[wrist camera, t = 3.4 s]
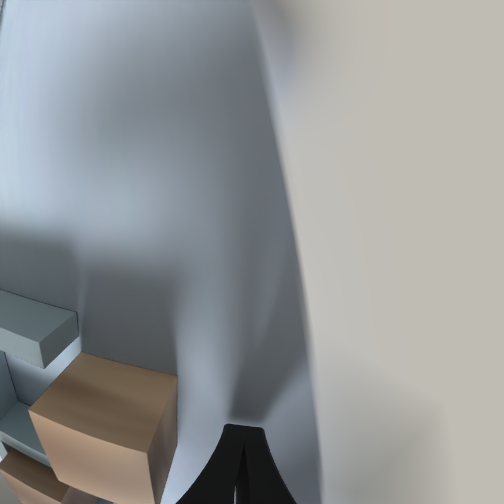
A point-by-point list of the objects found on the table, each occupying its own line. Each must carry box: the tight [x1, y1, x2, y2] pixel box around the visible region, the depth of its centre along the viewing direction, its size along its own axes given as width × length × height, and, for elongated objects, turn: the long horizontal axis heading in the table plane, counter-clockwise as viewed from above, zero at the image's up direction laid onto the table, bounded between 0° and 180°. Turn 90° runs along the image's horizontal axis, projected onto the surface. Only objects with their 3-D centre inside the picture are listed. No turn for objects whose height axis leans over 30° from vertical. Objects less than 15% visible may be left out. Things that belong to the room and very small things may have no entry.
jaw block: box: [28, 352, 177, 504], centre depth 9 cm, size 4×4×4 cm
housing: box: [0, 290, 117, 504], centre depth 10 cm, size 14×6×2 cm, turn 172°
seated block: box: [0, 447, 99, 504], centre depth 10 cm, size 4×4×4 cm
